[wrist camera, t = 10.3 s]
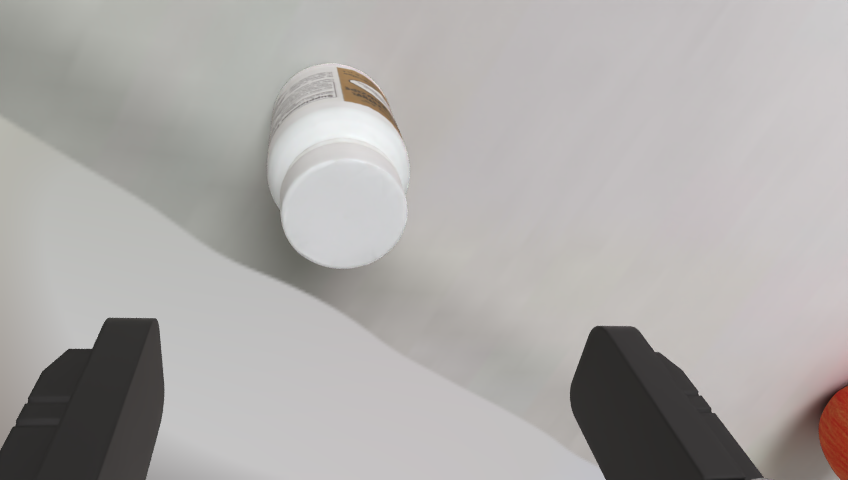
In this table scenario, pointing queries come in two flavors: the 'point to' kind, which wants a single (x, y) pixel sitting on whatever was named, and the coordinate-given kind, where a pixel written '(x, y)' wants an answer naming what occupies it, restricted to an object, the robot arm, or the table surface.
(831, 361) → the table surface
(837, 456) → the apple
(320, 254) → the pill bottle
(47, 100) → the table surface
